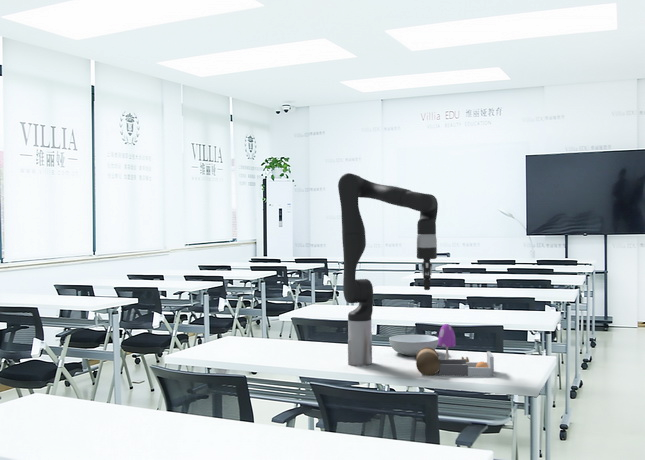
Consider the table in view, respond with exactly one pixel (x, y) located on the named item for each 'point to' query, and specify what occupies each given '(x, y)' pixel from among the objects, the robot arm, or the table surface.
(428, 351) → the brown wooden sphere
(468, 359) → the tee
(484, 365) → the ball
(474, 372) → the grey piece
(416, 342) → the serving bowl
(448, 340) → the toy
